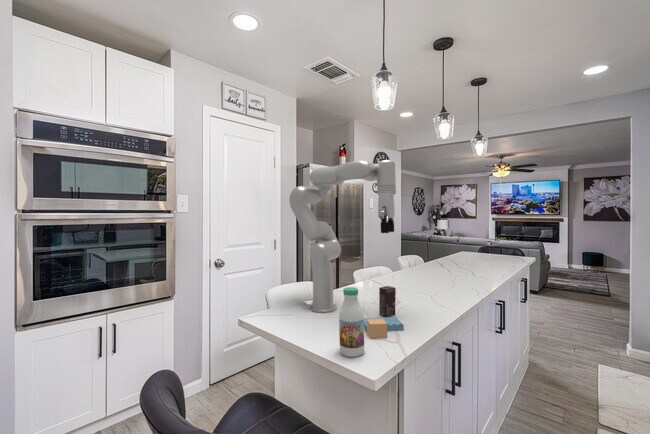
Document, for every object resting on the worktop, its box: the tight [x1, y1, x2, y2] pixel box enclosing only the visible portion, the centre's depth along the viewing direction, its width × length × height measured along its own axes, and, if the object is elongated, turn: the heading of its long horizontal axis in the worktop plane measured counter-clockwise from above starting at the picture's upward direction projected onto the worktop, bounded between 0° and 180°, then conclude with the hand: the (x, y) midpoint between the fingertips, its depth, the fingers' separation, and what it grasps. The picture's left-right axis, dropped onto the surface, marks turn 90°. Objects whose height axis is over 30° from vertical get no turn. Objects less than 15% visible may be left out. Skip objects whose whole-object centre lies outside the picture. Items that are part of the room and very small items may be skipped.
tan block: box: [366, 319, 388, 339], centre depth 105 cm, size 6×5×5 cm
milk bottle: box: [338, 286, 365, 358], centre depth 92 cm, size 8×8×20 cm
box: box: [378, 285, 397, 318], centre depth 126 cm, size 6×4×12 cm
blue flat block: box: [363, 316, 405, 333], centre depth 113 cm, size 14×9×2 cm, turn 94°
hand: (387, 232), depth 120 cm, fingers open, 9 cm apart
